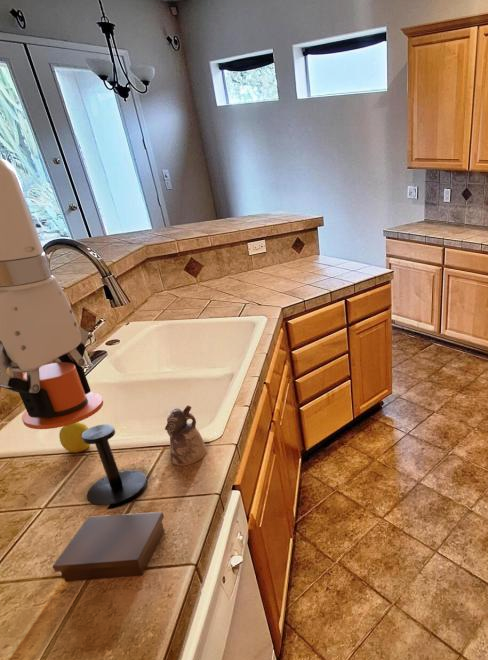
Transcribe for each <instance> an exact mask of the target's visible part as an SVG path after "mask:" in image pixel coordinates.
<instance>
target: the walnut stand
mask: <svg viewBox="0 0 488 660" xmlns="http://www.w3.org/2000/svg"><path fill="white" fill-rule="evenodd" d="M164 519H165V516H164V512H163V511H158V512H157V511H155V512H142V513H127V514H113V515H98V516H97V515H96V516H87V518H86V519H85V521H84V522H83V523H82V525H81V526H80V528H79V529H78V530H77V532H76V533H75V534H74V536H73V537H72V539H71V540H70V542H69V543H68V544H67V545H66V547H65V549H64V550H62V553H61V554H60V555H59V557H58V558H57V559H56V561H55V562H54V563H53V565H52V568H53V570H54V572H56V573H57V572H60V574H61V575H62V577H63V580H64V581H65V582H66V583H68V582H69V583H70V582H80V581H83V582H84V581H95V580H105V579H106V580H107V579H116V578H117V579H118V578H128V577H129V578H130V577H142V576H144V573H145V571H146V569H147V567H148V565H149V563H150V561H151V559H152V557H153V555H154V553H155V551H156V548H157V547H158V545H159V543H160V540H161V539H162V537H163V535H164V533H165V527H164V525H163V520H164Z"/></svg>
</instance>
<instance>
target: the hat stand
mask: <svg viewBox="0 0 488 660" xmlns="http://www.w3.org/2000/svg"><path fill="white" fill-rule="evenodd" d="M88 428H89V429H87V430H86V431H84V432H83V434H82V439H83V442H84V443H86V444H90V445H95V448H96V450H97V453H98V457H99V458H100V462H101V464H102V467H103V470H104V473H105V475H106V476H104V477H102V478H101V479H99V480H98V481H96V482H95V483H93V485H91V487H90V488H88V490H87V493H86V500H87V501H88V502H89V503H91V504H92V505H95V506H107V508H106V510H113V509H116V508H120V507H123V506H126V505H128V504H130V503H132V502H134V501H135V500H137V499H138V498H139V497H141V496H142V495H143V494H144V492H145V491H146V490H147V488H148V483H149V482H148V479H147V476H146V475H145V473H144V472H142V471H141V470H135V469H133V470H132V469H127V470H121V471H119V468H118V465H117V462H116V460H115V457H114V454H113V451H112V448H111V445H110V442H109V440H111V438H113V437H114V436H115V434H116V428H115V426H114V425H112V424H109V423H108V424H98V425H95V426H92V427H88Z"/></svg>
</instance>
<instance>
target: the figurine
mask: <svg viewBox="0 0 488 660" xmlns="http://www.w3.org/2000/svg"><path fill="white" fill-rule="evenodd" d="M191 410H192V406H191V405H186V406H185V408H184V409H183V410H181V409H180V408H178V407H174V408H173V409H172V410H171V411H170V412H168V414H167V418H166V425H165V427H164V430H165V431H166V433H167V434H168V437H169V455H170V462H171V464H174V465H177V466H179V467H183V466H184V467H185V466H188V465H192V464H195V463H196V462H198V461H200V460H201V459H202V458H203V457H204V456H205V454H206V445H205V442H204V439H203V437H202V436H201V433H200V431H199V429H198V428H197V427H196V425H197V421H196V418H195V416H194V415H193V414H192V413H191V412H190V411H191ZM188 420H191V422H188Z"/></svg>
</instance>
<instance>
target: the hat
mask: <svg viewBox="0 0 488 660" xmlns="http://www.w3.org/2000/svg"><path fill="white" fill-rule="evenodd" d="M39 376H40V389H45V390H46V391H47V393H48V395H49V398H50V400H51V403H52V405H53V408H54V410H55V416H54V417H52V418H35V417H30V416H29V415H28V412H27V410H25V411H24V413H23V414H22V416H21V421H22V423H23V424H24V426H25V427H27V428H29V429H33V430H50V429H52V430H53V429H57V428H62V427H63V426H67V425H70V424H74V423H76V422H81V421H84V420H86V419H88V418H90V417H92V416H93V415H95V414H97V413H98V412H99V411H100V410H102V408H103V406H104V400H103V397H102V395H100V394H98V393H96V392H92V391H90V392H89V393H88V394H85V392H84V389H83V386H82V384H81V381H80V378H79V375H78V372H77V370H76V367H75V365H74V364H72V363H66V362H61V363H59V362H52V363H47V364H45V365H43V366H41V367H39ZM23 380H25V381H27V373H25V372H24V373H23Z"/></svg>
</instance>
